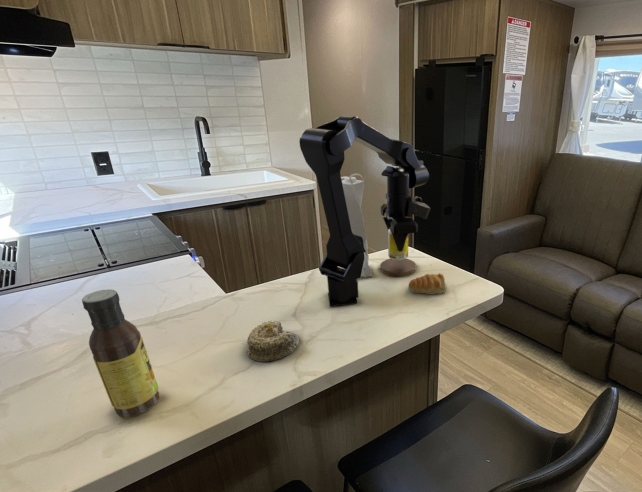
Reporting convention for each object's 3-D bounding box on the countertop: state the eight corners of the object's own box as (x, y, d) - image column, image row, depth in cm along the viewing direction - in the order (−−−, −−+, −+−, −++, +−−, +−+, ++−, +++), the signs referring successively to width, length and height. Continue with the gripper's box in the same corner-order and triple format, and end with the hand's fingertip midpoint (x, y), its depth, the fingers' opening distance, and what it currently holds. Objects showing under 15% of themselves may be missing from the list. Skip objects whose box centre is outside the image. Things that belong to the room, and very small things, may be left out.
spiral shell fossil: (263, 372, 73) (256, 348, 70) (238, 349, 79) (230, 327, 76) (309, 345, 79) (304, 322, 77) (283, 326, 85) (277, 305, 83)
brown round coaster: (384, 278, 108) (384, 274, 107) (377, 263, 116) (377, 259, 116) (420, 274, 110) (420, 270, 110) (410, 260, 119) (411, 256, 119)
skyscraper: (373, 279, 107) (370, 174, 95) (342, 282, 105) (335, 175, 93) (368, 266, 114) (364, 167, 103) (339, 269, 112) (332, 168, 101)
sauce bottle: (169, 399, 65) (137, 292, 57) (128, 425, 60) (87, 311, 52) (146, 386, 68) (112, 281, 60) (105, 409, 63) (62, 299, 55)
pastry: (411, 297, 98) (411, 283, 97) (406, 284, 104) (406, 271, 103) (448, 293, 100) (448, 279, 99) (440, 281, 106) (441, 268, 105)
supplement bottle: (410, 259, 110) (411, 224, 106) (391, 262, 109) (391, 226, 104) (404, 252, 115) (404, 218, 111) (385, 254, 113) (385, 220, 109)
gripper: (438, 199, 98) (436, 257, 104) (418, 182, 115) (417, 234, 121) (394, 201, 95) (394, 261, 102) (379, 184, 112) (380, 236, 118)
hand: (397, 247), depth 111 cm, fingers closed on supplement bottle, 5 cm apart
